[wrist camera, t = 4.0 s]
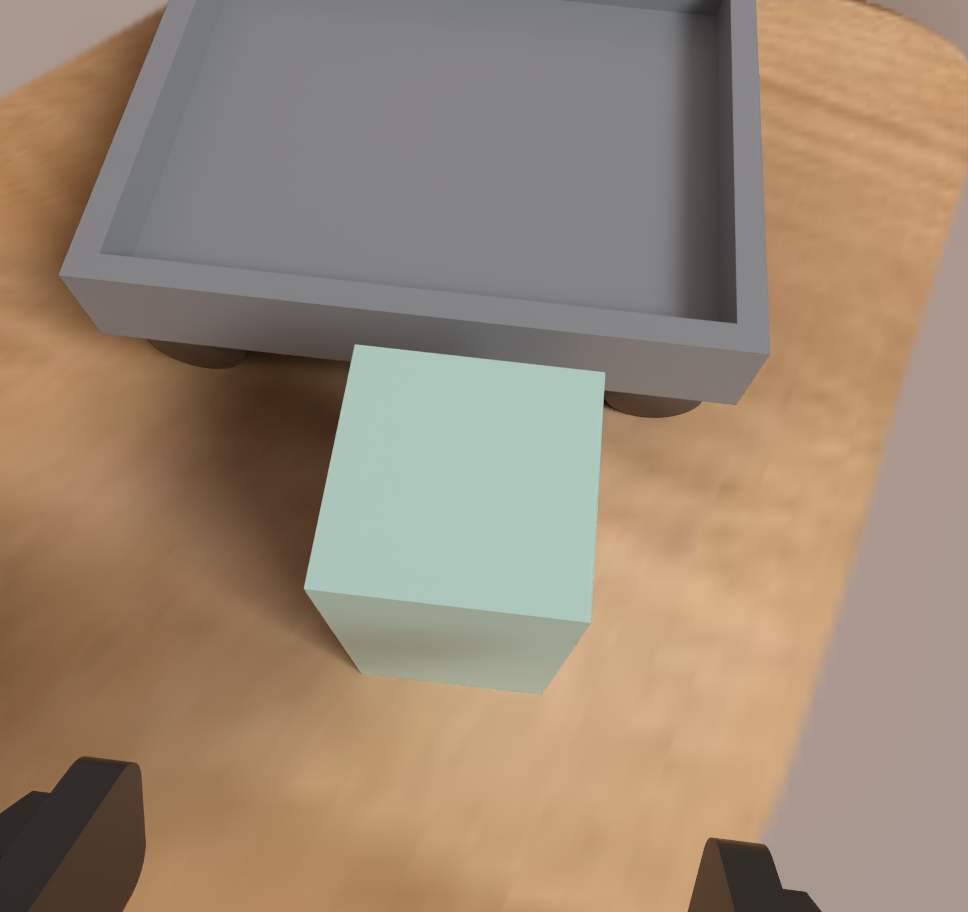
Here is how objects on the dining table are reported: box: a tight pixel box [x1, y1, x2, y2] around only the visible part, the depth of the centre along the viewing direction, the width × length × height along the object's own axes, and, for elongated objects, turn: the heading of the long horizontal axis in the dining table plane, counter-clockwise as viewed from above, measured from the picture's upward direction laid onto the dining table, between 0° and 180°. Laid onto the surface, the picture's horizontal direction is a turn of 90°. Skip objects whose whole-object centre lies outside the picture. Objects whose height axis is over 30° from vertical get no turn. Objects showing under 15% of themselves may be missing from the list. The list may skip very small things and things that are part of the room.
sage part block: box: [304, 344, 605, 695], centre depth 19 cm, size 5×5×9 cm
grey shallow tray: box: [58, 0, 770, 418], centre depth 26 cm, size 18×15×6 cm
